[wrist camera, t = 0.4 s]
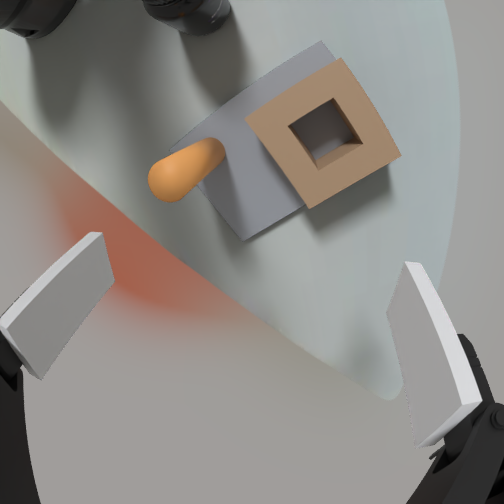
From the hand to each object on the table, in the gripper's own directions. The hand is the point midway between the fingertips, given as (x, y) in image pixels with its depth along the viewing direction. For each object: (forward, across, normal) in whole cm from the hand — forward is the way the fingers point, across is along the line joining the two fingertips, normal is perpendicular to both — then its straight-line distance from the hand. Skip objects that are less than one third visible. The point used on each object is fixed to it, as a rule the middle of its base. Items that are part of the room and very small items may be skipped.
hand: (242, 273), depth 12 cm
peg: (+23, -8, 0) cm, 24 cm away
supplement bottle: (+24, -9, +18) cm, 32 cm away
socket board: (+24, 0, +1) cm, 24 cm away
